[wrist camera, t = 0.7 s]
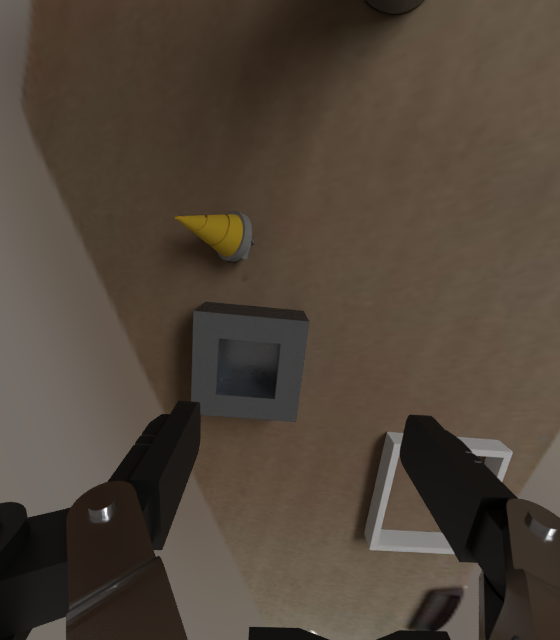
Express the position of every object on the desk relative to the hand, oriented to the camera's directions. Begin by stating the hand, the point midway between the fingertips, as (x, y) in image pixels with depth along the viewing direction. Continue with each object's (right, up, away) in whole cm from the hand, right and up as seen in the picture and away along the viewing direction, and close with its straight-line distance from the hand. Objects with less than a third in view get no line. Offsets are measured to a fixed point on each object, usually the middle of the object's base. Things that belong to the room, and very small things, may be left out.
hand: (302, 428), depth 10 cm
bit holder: (-5, 0, +25) cm, 26 cm away
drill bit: (-7, +14, +22) cm, 27 cm away
